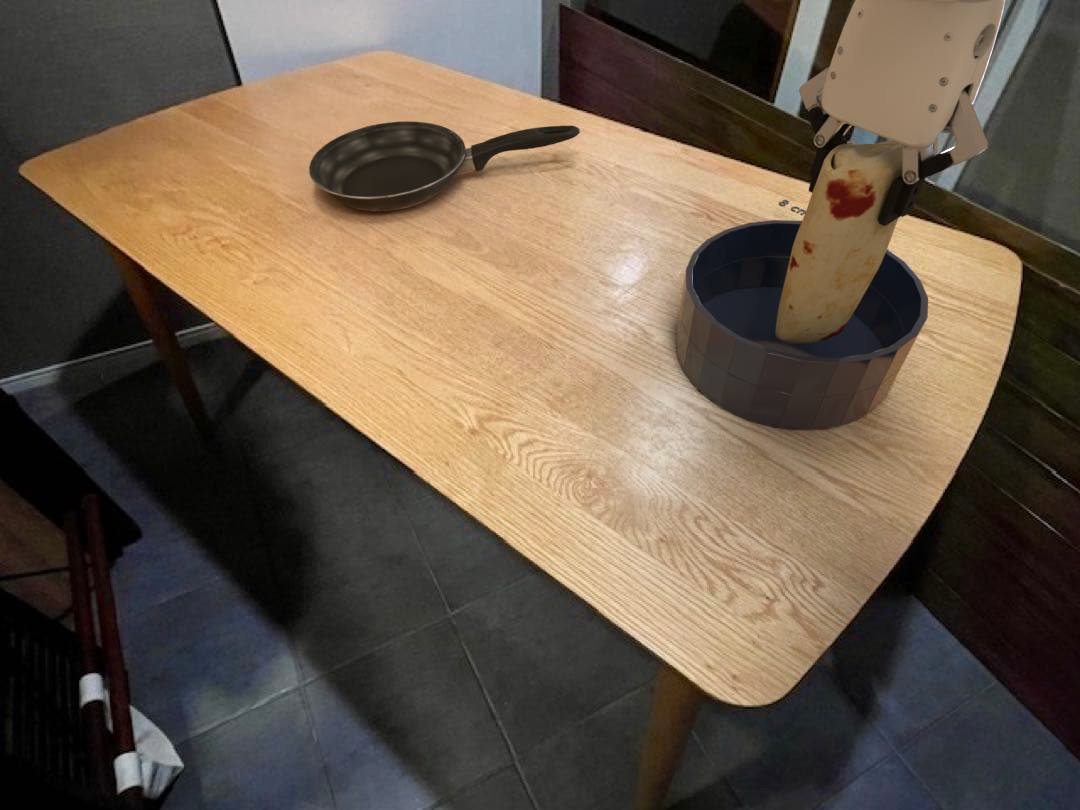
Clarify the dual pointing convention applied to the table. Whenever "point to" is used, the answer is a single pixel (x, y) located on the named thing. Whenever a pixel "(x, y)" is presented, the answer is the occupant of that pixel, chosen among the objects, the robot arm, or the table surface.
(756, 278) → the pot
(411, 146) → the frying pan
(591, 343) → the table surface
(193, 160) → the table surface
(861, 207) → the food model
